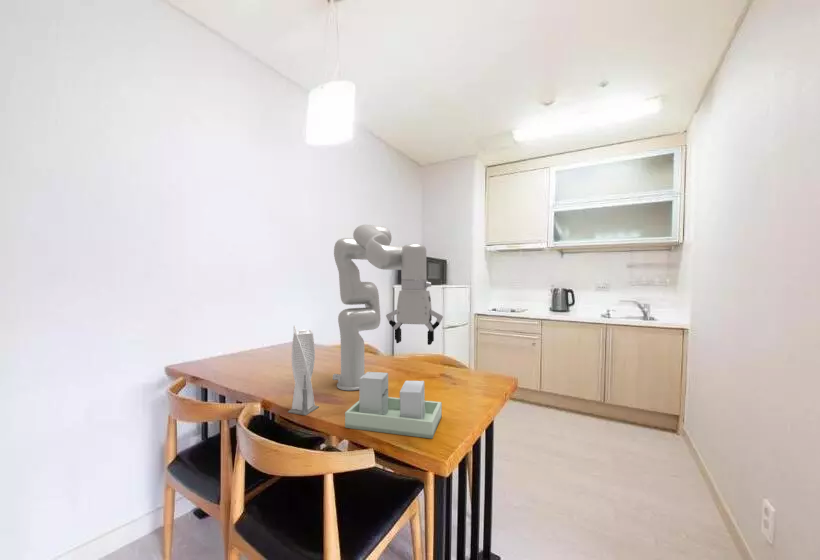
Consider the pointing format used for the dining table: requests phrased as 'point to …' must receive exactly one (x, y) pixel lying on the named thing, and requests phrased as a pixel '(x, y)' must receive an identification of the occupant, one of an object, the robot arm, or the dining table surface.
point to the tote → (396, 420)
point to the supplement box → (373, 393)
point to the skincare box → (412, 400)
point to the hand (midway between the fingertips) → (414, 343)
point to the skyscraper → (303, 372)
